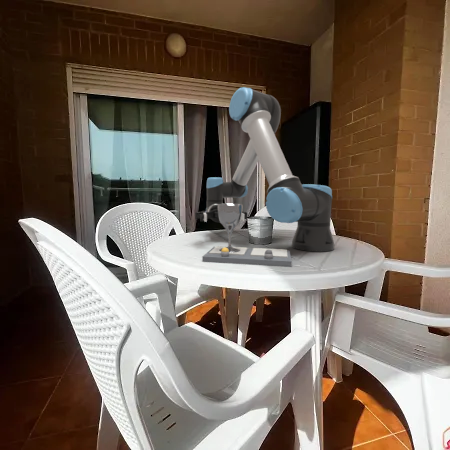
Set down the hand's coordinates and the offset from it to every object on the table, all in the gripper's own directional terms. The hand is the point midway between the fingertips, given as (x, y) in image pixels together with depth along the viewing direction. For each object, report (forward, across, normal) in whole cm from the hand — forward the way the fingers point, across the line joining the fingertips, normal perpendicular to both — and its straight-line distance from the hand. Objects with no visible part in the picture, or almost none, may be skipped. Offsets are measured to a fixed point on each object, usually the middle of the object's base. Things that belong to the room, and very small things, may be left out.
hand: (224, 217), depth 96 cm
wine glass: (+10, 0, -10) cm, 14 cm away
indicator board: (+13, -6, -12) cm, 18 cm away
